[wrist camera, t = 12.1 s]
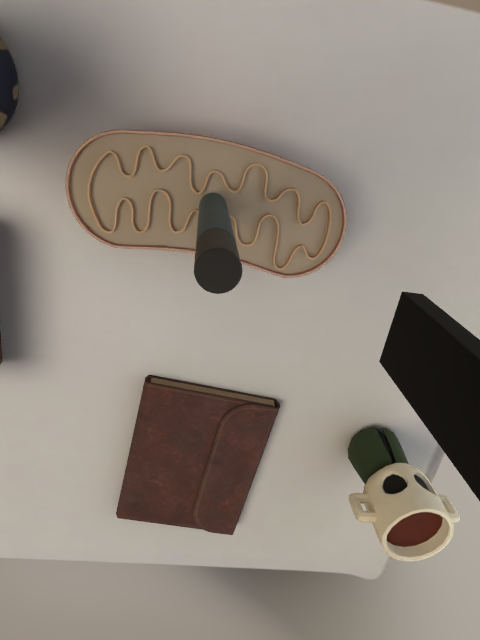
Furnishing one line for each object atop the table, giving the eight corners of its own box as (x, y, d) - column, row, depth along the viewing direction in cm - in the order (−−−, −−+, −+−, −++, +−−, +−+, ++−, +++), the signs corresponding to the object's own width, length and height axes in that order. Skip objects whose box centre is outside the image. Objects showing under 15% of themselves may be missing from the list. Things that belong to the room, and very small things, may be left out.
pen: (194, 201, 35) (184, 263, 20) (217, 187, 35) (227, 239, 19) (208, 225, 36) (209, 302, 21) (231, 211, 36) (250, 279, 20)
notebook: (117, 507, 55) (114, 520, 53) (146, 374, 47) (143, 384, 45) (233, 523, 57) (234, 536, 55) (278, 399, 50) (281, 409, 48)
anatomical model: (78, 225, 40) (62, 238, 36) (85, 107, 36) (68, 105, 32) (316, 268, 44) (329, 286, 39) (346, 165, 40) (364, 170, 35)
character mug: (421, 422, 53) (484, 509, 41) (406, 468, 55) (461, 562, 44) (333, 419, 51) (371, 508, 40) (322, 466, 54) (355, 562, 42)
